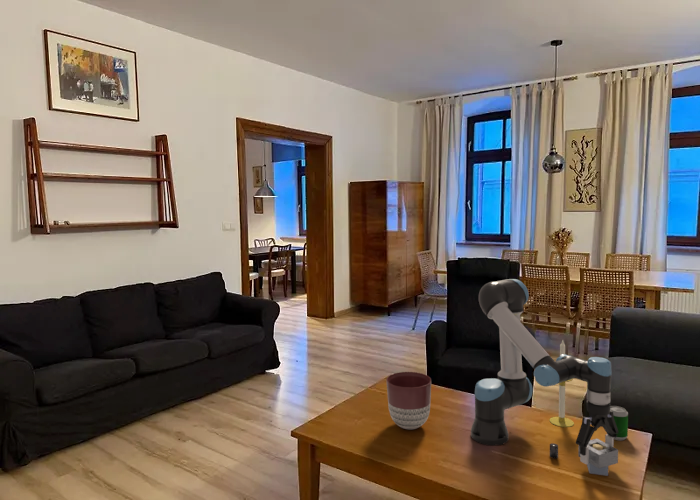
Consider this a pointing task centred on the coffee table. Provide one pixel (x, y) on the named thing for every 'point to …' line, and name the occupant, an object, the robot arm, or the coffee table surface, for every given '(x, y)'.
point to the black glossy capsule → (553, 450)
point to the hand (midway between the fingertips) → (596, 457)
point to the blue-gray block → (594, 469)
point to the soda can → (620, 422)
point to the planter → (409, 398)
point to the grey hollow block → (601, 454)
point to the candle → (562, 401)
